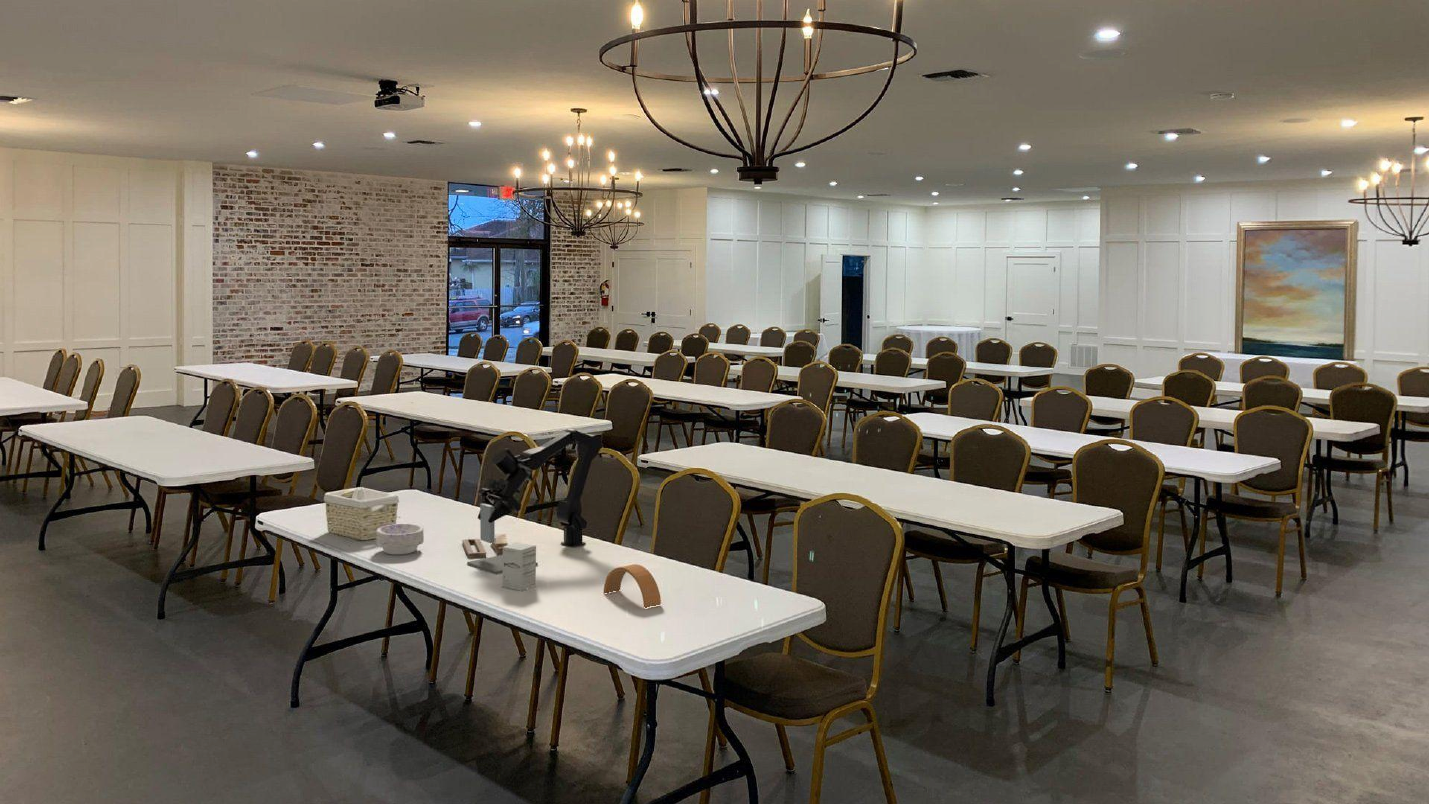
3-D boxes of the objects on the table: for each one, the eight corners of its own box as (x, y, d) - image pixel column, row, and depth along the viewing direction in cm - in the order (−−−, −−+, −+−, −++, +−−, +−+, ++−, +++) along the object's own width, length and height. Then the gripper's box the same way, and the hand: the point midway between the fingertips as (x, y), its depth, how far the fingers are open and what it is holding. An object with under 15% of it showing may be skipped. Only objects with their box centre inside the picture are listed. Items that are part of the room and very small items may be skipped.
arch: (619, 590, 323) (619, 558, 322) (661, 606, 308) (661, 572, 307) (603, 594, 319) (603, 561, 318) (644, 610, 304) (645, 575, 303)
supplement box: (501, 588, 323) (501, 546, 322) (517, 582, 330) (517, 541, 328) (521, 591, 320) (521, 549, 318) (536, 585, 326) (536, 544, 325)
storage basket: (322, 532, 389) (321, 492, 387) (361, 525, 401) (361, 485, 400) (361, 543, 374) (361, 501, 372) (401, 535, 387) (400, 494, 385)
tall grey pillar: (484, 539, 356) (484, 503, 355) (494, 542, 352) (494, 506, 350) (480, 539, 355) (480, 503, 354) (490, 543, 351) (490, 506, 349)
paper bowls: (395, 559, 353) (395, 536, 352) (367, 552, 362) (366, 528, 361) (433, 551, 365) (433, 528, 364) (405, 543, 374) (404, 521, 373)
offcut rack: (504, 541, 380) (504, 532, 380) (512, 555, 361) (512, 545, 361) (462, 543, 375) (462, 534, 375) (468, 558, 356) (468, 548, 356)
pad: (537, 565, 349) (537, 562, 349) (496, 574, 338) (496, 571, 338) (508, 556, 360) (508, 553, 360) (467, 564, 349) (467, 562, 349)
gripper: (482, 464, 360) (453, 500, 354) (513, 472, 347) (483, 510, 340) (503, 484, 366) (474, 521, 360) (534, 493, 353) (505, 531, 347)
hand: (483, 520), depth 352 cm, fingers closed on tall grey pillar, 6 cm apart
